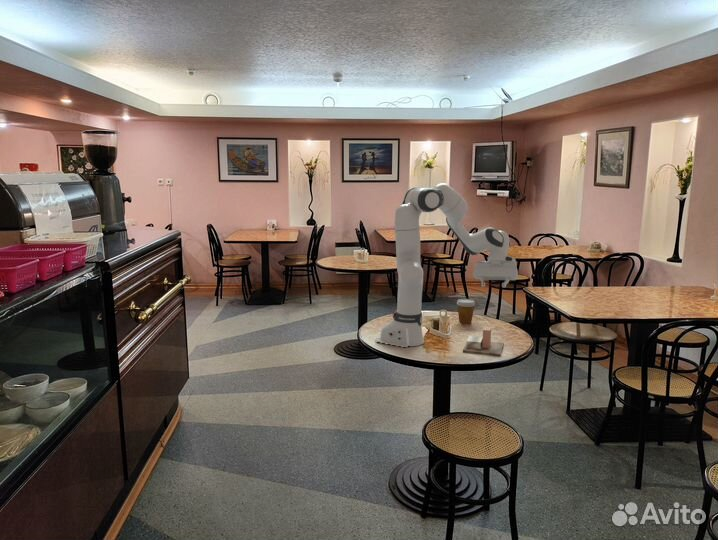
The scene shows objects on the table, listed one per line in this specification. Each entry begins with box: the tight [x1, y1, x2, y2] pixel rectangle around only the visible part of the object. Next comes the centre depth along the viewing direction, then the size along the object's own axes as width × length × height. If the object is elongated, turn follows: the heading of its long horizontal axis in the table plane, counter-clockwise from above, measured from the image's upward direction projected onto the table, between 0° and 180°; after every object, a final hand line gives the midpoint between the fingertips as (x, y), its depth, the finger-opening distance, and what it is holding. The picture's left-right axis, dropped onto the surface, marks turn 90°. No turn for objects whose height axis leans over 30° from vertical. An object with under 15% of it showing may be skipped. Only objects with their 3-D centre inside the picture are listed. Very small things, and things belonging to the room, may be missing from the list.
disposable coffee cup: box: [456, 298, 476, 325], centre depth 268 cm, size 10×10×12 cm
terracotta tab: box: [482, 326, 492, 348], centre depth 228 cm, size 3×5×8 cm, turn 160°
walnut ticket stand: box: [462, 335, 504, 357], centre depth 229 cm, size 16×16×4 cm
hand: (493, 286), depth 237 cm, fingers open, 8 cm apart
